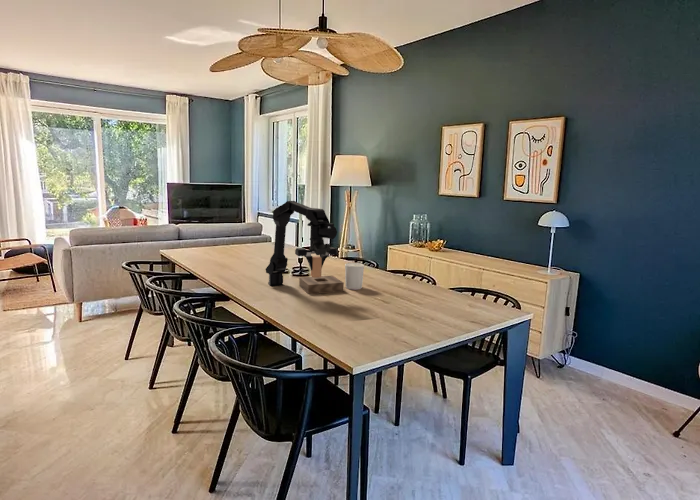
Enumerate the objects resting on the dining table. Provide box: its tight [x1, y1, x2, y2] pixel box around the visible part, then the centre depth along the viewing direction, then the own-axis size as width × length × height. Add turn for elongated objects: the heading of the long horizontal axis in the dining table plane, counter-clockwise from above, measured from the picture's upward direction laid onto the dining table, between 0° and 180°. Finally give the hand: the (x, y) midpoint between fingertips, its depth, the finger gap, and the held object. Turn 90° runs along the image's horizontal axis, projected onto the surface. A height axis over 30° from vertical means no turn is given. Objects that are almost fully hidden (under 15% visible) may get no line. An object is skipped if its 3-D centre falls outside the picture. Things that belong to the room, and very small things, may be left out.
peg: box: [310, 255, 323, 277], centre depth 202 cm, size 4×4×9 cm
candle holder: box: [344, 262, 365, 291], centre depth 223 cm, size 10×10×12 cm
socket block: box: [298, 275, 345, 295], centre depth 219 cm, size 18×16×4 cm
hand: (316, 269), depth 202 cm, fingers closed on peg, 4 cm apart
